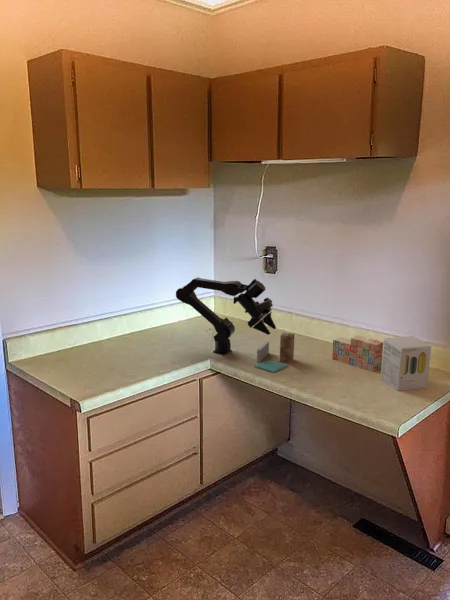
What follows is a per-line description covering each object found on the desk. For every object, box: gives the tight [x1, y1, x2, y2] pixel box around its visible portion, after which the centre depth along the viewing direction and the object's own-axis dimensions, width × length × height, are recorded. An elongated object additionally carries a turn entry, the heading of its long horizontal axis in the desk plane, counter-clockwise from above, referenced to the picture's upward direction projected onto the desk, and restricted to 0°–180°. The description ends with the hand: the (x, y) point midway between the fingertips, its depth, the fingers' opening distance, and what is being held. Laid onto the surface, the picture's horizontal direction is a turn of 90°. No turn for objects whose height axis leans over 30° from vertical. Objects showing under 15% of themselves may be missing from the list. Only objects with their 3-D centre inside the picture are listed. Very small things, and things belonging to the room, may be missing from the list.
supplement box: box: [380, 335, 432, 391], centre depth 214 cm, size 13×13×18 cm
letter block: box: [279, 332, 296, 364], centre depth 239 cm, size 5×5×12 cm
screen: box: [256, 341, 270, 363], centre depth 243 cm, size 2×13×6 cm, turn 159°
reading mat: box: [254, 359, 288, 374], centre depth 232 cm, size 10×10×1 cm
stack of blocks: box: [331, 335, 384, 373], centre depth 236 cm, size 21×6×12 cm, turn 43°
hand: (272, 331), depth 240 cm, fingers open, 9 cm apart
